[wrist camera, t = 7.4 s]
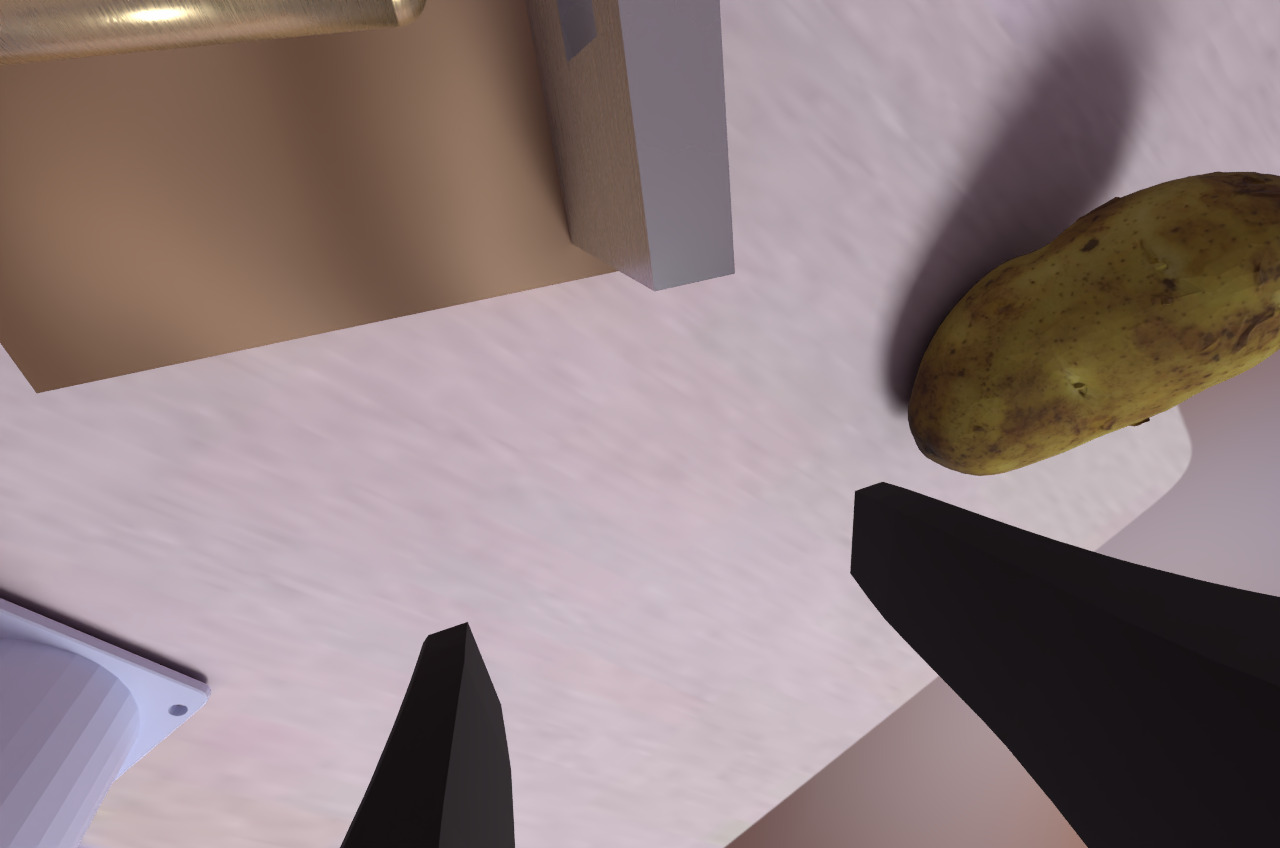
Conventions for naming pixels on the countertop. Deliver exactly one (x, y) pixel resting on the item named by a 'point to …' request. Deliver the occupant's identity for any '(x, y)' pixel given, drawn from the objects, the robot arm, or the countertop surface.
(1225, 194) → the potato
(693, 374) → the countertop surface
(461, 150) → the base board
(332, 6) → the copper disc on rod
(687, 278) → the eye plate
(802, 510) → the countertop surface
